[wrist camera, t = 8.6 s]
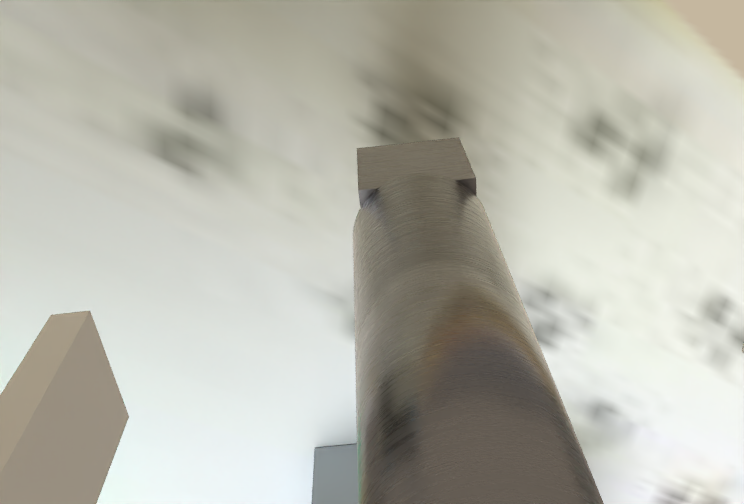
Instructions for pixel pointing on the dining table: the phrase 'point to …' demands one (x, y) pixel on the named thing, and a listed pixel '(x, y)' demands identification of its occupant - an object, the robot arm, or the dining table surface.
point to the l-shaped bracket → (448, 348)
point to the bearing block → (335, 475)
